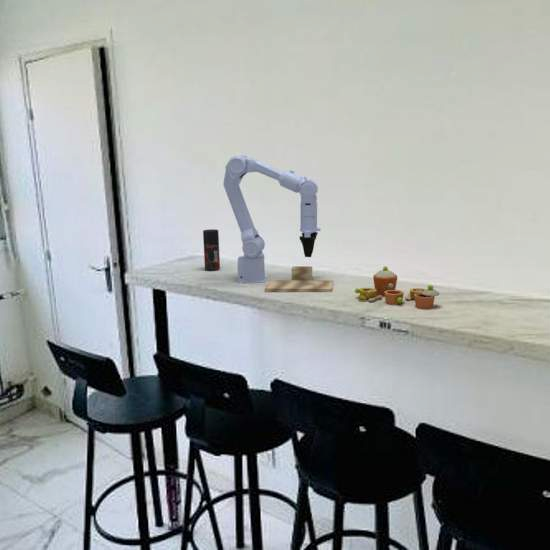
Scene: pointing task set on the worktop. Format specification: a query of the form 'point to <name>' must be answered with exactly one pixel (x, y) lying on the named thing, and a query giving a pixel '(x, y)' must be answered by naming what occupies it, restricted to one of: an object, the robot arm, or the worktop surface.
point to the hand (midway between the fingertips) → (308, 254)
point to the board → (299, 286)
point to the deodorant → (211, 249)
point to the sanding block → (301, 272)
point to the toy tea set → (395, 291)
